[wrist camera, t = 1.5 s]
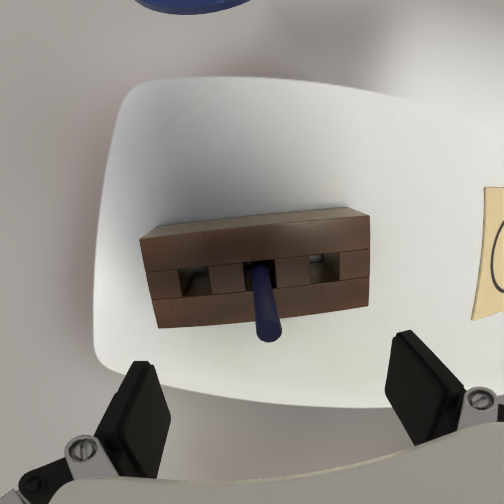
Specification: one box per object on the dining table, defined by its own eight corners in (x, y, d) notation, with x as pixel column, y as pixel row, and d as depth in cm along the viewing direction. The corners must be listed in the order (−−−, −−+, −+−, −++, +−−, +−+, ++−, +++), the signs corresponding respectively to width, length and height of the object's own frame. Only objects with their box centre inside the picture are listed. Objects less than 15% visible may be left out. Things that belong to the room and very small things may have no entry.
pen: (249, 250, 26) (255, 322, 14) (263, 249, 26) (281, 319, 14) (250, 263, 27) (257, 344, 14) (264, 262, 27) (282, 341, 14)
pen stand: (157, 226, 26) (138, 239, 21) (347, 206, 26) (369, 215, 21) (171, 303, 27) (158, 328, 23) (349, 284, 27) (368, 306, 23)
